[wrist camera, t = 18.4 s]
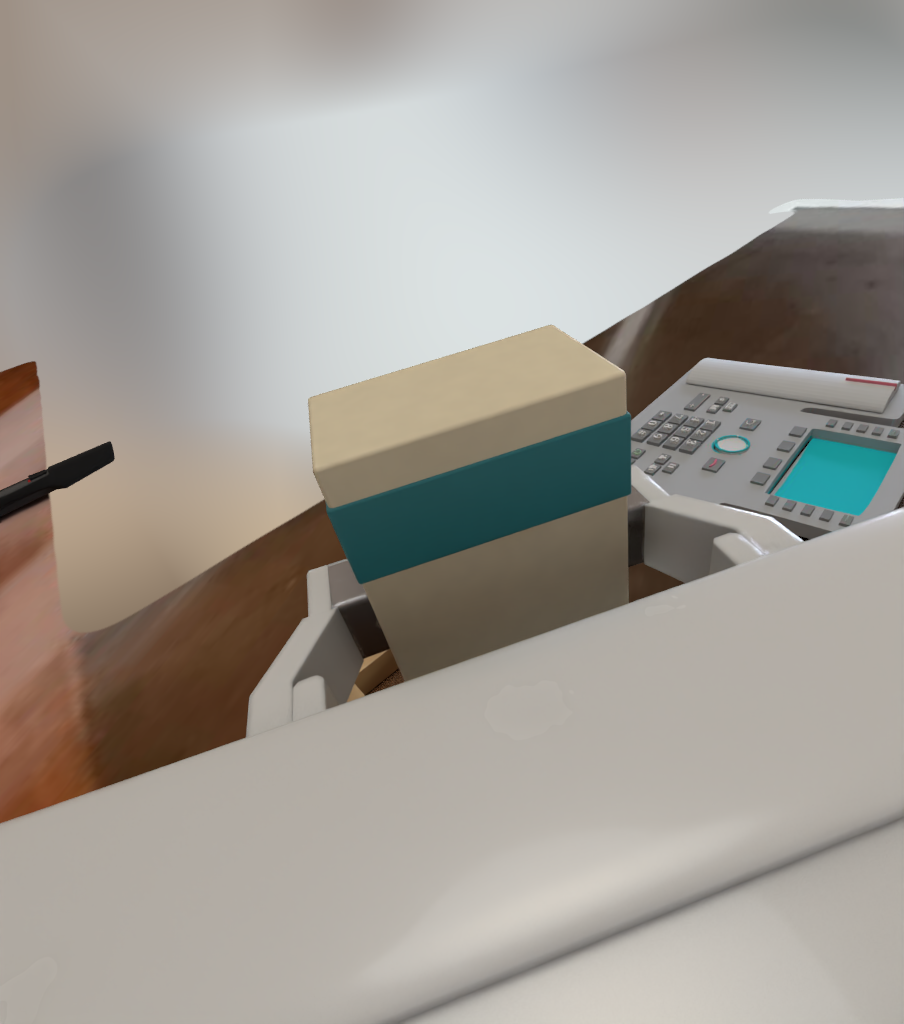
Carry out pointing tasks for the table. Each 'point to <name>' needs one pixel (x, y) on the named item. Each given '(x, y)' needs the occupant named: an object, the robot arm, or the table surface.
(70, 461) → the electric trimmer
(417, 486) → the box
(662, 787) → the robot arm
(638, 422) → the office telephone
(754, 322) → the table surface
